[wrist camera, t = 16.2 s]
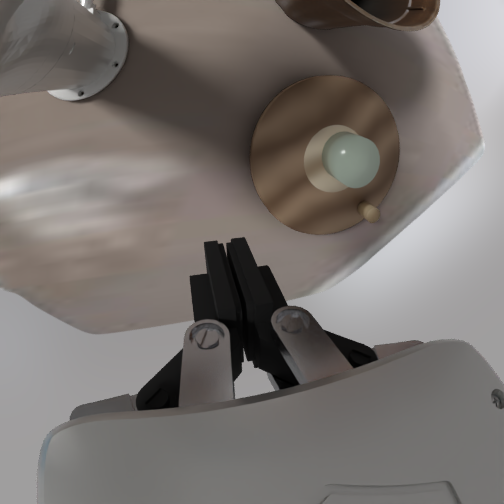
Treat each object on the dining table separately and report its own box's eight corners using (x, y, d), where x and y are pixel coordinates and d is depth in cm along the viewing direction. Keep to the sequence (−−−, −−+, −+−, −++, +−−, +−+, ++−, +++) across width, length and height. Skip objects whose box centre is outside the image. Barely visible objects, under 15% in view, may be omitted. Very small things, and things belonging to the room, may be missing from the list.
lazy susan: (211, 145, 33) (215, 153, 29) (349, 47, 29) (368, 45, 25) (308, 256, 46) (319, 272, 43) (410, 171, 42) (427, 181, 38)
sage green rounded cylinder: (313, 148, 35) (327, 155, 31) (352, 122, 34) (369, 127, 30) (334, 187, 39) (348, 197, 35) (369, 162, 38) (385, 170, 34)
